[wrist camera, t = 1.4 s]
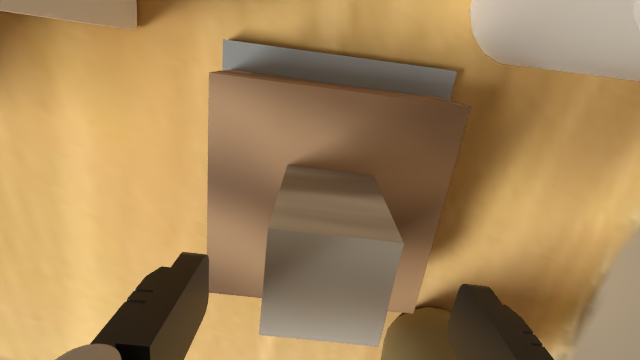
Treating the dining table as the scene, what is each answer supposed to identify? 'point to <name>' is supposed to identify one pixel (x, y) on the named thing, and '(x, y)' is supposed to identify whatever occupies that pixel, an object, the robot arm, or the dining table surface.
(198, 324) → the robot arm
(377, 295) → the tan plate with knob
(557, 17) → the white cup
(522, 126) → the dining table surface
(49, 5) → the milk carton
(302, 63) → the rubber mat
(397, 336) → the squeeze bottle
